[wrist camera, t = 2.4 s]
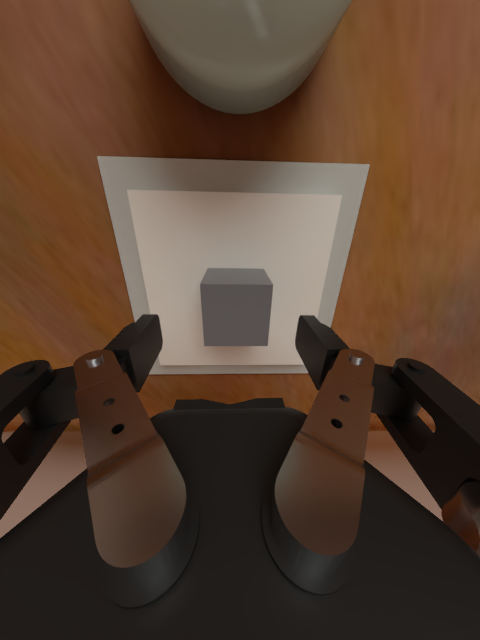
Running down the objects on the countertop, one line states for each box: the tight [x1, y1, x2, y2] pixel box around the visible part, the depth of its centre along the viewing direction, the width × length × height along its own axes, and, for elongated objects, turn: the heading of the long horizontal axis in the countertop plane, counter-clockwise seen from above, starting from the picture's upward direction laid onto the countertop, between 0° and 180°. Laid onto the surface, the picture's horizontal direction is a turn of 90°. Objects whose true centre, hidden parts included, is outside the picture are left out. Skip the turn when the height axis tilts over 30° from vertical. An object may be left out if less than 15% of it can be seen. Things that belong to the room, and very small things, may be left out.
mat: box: [97, 156, 370, 374], centre depth 19 cm, size 19×19×1 cm
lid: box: [127, 190, 342, 365], centre depth 16 cm, size 15×15×6 cm
